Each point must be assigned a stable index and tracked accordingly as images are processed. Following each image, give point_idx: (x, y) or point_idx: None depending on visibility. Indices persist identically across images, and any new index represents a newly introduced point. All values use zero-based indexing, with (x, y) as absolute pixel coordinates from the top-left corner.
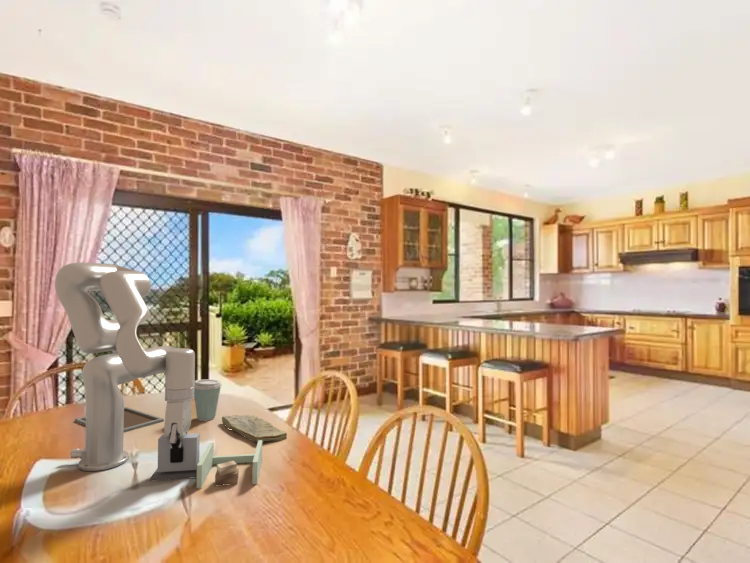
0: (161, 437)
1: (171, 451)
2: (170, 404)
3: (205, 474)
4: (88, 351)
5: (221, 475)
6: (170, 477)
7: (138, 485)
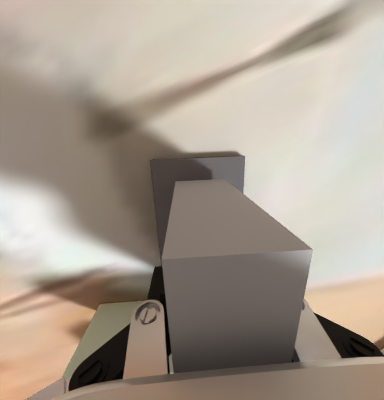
0: (220, 271)
1: (162, 283)
2: None
3: None
4: None
5: None
6: (157, 226)
7: (117, 133)
